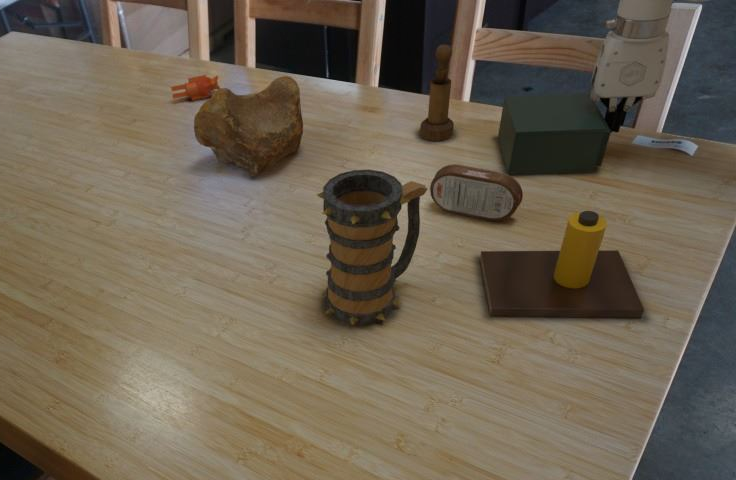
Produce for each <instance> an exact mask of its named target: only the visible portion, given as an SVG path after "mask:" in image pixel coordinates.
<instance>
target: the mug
mask: <svg viewBox="0 0 736 480" xmlns="http://www.w3.org/2000/svg"><path fill="white" fill-rule="evenodd" d="M428 190H429V188H428V187H426V185H425V184H422V183H419V182H416V181H412V180H411V181H408V182H406V183H404V184H402V182H401V181H399V180H398V179H397V177H396V176H395V175H392V174H389V173H387V172H385V171H380V170H375V169H353V170H349V171H345V172H342V173H341V172H340V173H339V174H337V175H335V176H333V177H331V178H329V179H328V181H327V182H326V183H325V184H324V185H323V187H322V192H319V193H316V194H315V196H317V197H318V198H321V199H323V204H322V205H323V206H322V207H323V208H322V209H323V212H322V213H321V214H322V215H325V216H326V218H325V220H324V225H325V227H326V231H327V234H328V236H329V237H328V238H329V241H330V243H329V245H328V252H327V253H326V255H325V258H326V259H327V260H329V262H330V268H329V270H327V271H326V272H325V275H326V276H327V283H326V284H327V287H326V289H325V291H323V292H320V293H319V294H320V295H321V296H323V297H325V308H326V311H325V312H324V314H329V315H330V316H331V317H333V318H334V319H336V320H337V321H339V322H340V323H344V324H348V325H351V326H370V325H373V324H377V323H381V322H382V321H384V322H386V318H388V317H389V316H391V314H392V312H393V310H394V308H395V306H396V305H400V304H403V302H402V301H399V299H398V300H397V299H396V291H395V287H394V285H395V283H396V282H397V279H398V278H399V277H400V276H401V275H403V274H404V273H405V272H406V270H408V268H409V266H410V264H411V261H412V259H413V257H414V254H415V251H416V248H417V244H418V240H419V238H420V237H419V236H420V230H421V229H420V227H421V217H420V216H421V215H420V202H421V197H422V196H424V195H425V194H426V193H427V191H428ZM403 204H406V205H407V206H406V207H407V220H408V221H407V234H406V237H405V242H404V245H403V246H402V247H403V248H402V250H401V253H400V255H399V258H398V260H397V261H396V263H395V264H393V260H394V253H395V250H396V249H397V247H396V244H394V235H395V234H396V232H398V231H400V226H399V219H398V215H399V213H400V212H401V210H402V207H403ZM392 264H393V265H392Z"/></svg>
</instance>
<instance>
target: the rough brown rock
mask: <svg viewBox="0 0 736 480" xmlns="http://www.w3.org/2000/svg"><path fill="white" fill-rule="evenodd" d="M300 92H301V91H300V87H299V84H298V82H297V81H296V80H295V79H294V78H293V77H291V76H288V75H284V76H279V77H276V78H275V79H274V80H272V81H271V82H270V84H269V85H268V86H266V87H265V88H264V89H263V90H261V91H260V92H257V93H255V92H254V93H247V94H236V93H234V92H233V91H232V90H230V89H229V88H227V87H220V89H215V91H213V92H212V93H211V97H210V98H208V99H206V101H204V102H203V103H202V104H201V106H200V107H199V110H198V112H197V113H196V114H195V115H194V119H193V132H194V137H195V139H196V141H197V143H199V145H200V146H203V147H206V148H210V149H211V151H212V152H213V154H214V156H215V158H216V159H217V161H218V162H221V163H224V164H230V163H234V164H235V166H236V167H239V168H241V169H242V170H243V171H244V172H246V173H247V174H249V176H252V177H258V176H260V175H262V174H264V173H266V172H267V171H268V170H270V169H271V168H272V167H273V166H274V165H276V163H277V162H279V161H280V160H281V159H282V158H284V157H286V156H287V155H291V154H292V153H294V152H296V151H297V150H298V149H299V148H300V145H301V142H302V136H303V134H304V121H303V120H304V119H303V114H302V107H301V95H300V94H301V93H300Z"/></svg>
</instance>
